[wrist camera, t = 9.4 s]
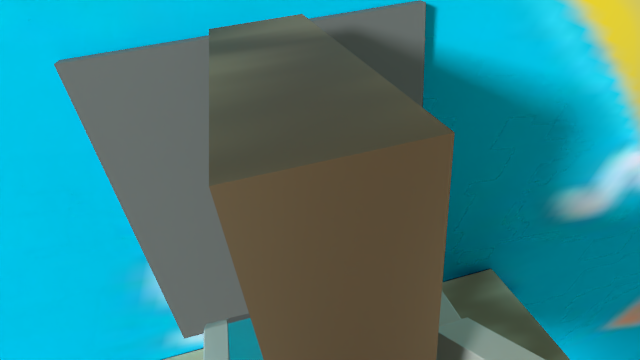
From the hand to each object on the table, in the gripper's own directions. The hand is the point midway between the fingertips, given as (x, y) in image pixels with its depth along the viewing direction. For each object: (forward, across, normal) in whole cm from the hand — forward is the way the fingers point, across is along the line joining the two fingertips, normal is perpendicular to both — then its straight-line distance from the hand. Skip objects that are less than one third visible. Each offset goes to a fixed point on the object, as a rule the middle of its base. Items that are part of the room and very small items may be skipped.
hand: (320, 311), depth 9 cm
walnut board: (+4, 0, 0) cm, 4 cm away
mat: (+5, 0, 0) cm, 5 cm away
